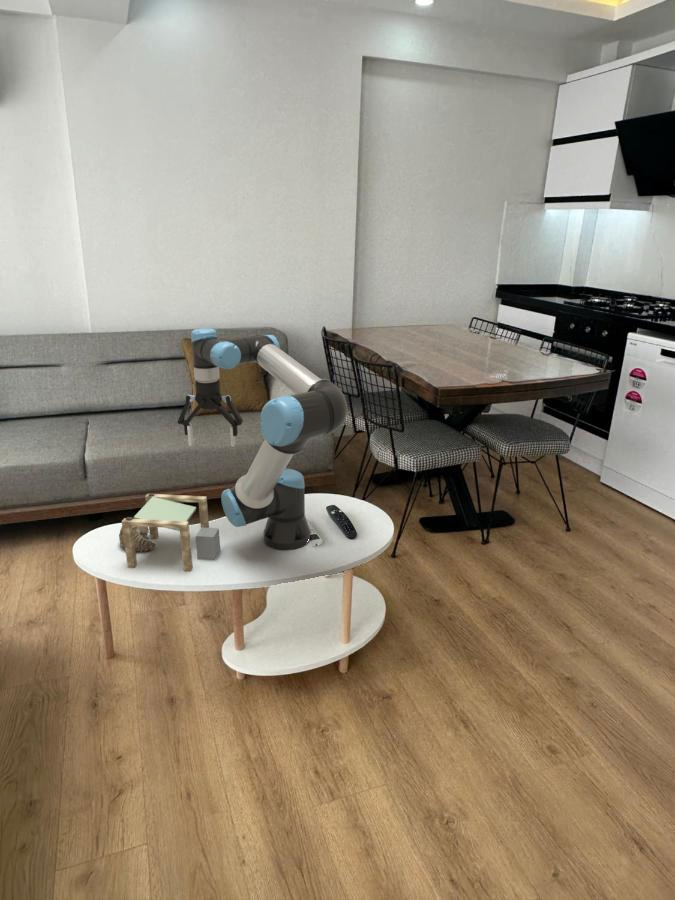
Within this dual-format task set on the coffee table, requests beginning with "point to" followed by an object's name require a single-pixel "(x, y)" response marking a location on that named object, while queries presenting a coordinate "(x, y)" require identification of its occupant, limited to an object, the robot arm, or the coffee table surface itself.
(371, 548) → the coffee table surface
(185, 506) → the trapdoor
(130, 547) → the frame
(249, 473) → the robot arm
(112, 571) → the coffee table surface
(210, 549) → the grey rectangular block
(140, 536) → the seashell
